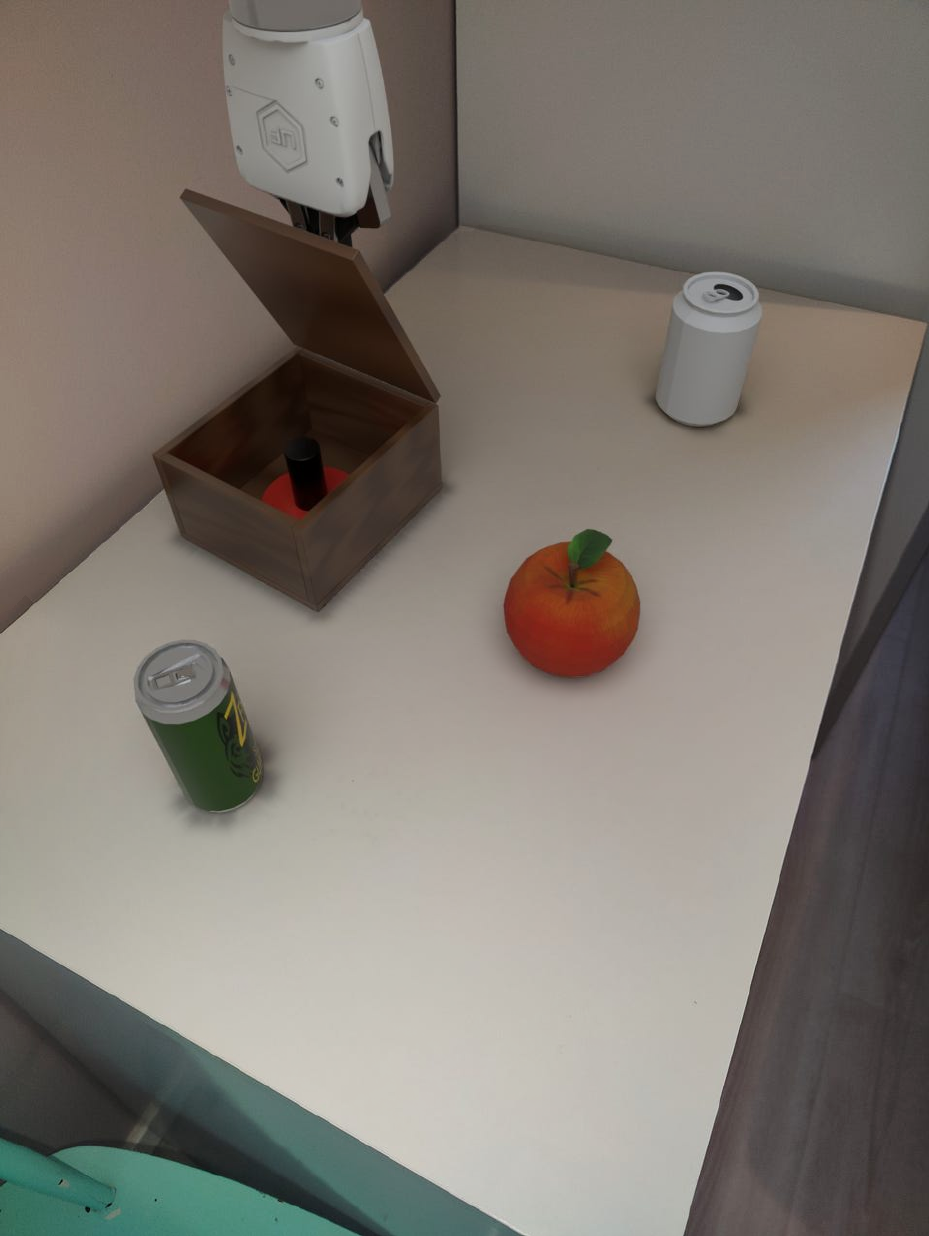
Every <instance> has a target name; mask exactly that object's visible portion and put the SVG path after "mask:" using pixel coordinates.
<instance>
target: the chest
mask: <svg viewBox="0 0 929 1236" xmlns="http://www.w3.org/2000/svg"><path fill="white" fill-rule="evenodd" d="M440 427H441V426H440V407H439V404H438V403H436V404H435V403H433V402H430V401H428V400H426V399H423V398H421V397H419V396H416V395H414V394H411V393H409V392H407V391H404V390H402V389H399V388H397V387H395V386H392V385H390V384H387V383H385V382H383V381H380V380H378V379H375V378H373V377H371V376H368V375H366V374H363V373H361V372H359V371H356V370H354V369H352V368H349V367H347V366H344V365H342V364H340V363H337V362H335V361H332V360H330V359H328V358H325V357H323V356H320V355H318V354H316V353H313V352H311V351H308V350H306V349H304V348H301V347H299V346H295V347H294V348H293V349H292V350H289V351H288V352H287V353H286V354H284V355H283V356H282V357H280V358H279V359H278V360H276V361H275V362H274V363H272V364H271V365H269V366H267V368H266V369H264V370H263V371H262V372H260V373H259V374H258V375H256V376H255V377H253V378H251V380H249V381H248V382H247V383H246V384H244V385H243V386H241V387H240V388H239V389H237V390H236V391H234V392H233V393H232V394H231V395H230V396H228V397H226V398H225V399H224V400H223V401H221V402H220V403H218V404H217V405H216V406H214V407H213V408H212V409H210V410H209V411H208V412H207V413H205V414H204V415H202V416H201V417H200V418H199V419H197V420H196V421H194V422H193V423H191V424H190V425H189V426H188V427H187V428H185V429H184V430H182V431H181V432H180V433H178V434H177V435H176V436H174V437H173V438H172V439H170V440H169V441H167V442H166V443H164V444H163V445H161V447H160V448H158V449H157V450H156V451H154V452H153V453H152V454H151V456H152V459H153V462H154V465H155V467H156V470H157V473H158V476H159V479H160V481H161V484H162V487H163V489H164V492H165V495H166V498H167V501H168V503H169V506H170V508H171V512H172V514H173V517H174V519H175V522H176V526H177V528H178V530H179V533H180V534H179V535H180V536H181V537H182V538H183V539H184V540H187V541H188V542H190V543H192V544H194V545H196V546H198V547H199V548H201V549H203V550H204V551H206V552H208V553H210V554H211V555H214V556H216V557H218V558H219V559H221V560H222V561H225V562H227V563H228V564H230V565H232V566H234V567H236V568H237V569H239V570H241V571H243V572H245V573H246V574H248V575H250V576H252V577H254V578H256V579H257V580H259V581H261V582H263V583H265V584H266V585H268V586H270V587H272V588H273V589H275V590H277V591H279V592H281V593H283V594H284V595H286V596H287V597H290V598H292V599H293V600H295V601H297V602H299V603H301V604H303V605H304V606H305V607H308V608H310V609H312V610H314V611H315V612H317V613H319V612H320V610H322V609H323V607H325V605H326V604H328V603H329V602H330V601H331V600H332V599H333V598H334V597H335V596H336V595H337V594H338V593H339V592H340V591H341V590H342V589H343V588H344V587H345V586H346V585H347V584H348V583H349V582H350V581H351V580H352V579H353V578H354V577H355V576H356V575H357V574H358V573H359V572H360V571H361V570H362V569H363V568H364V567H365V566H366V565H367V564H368V563H369V562H370V561H371V560H372V559H373V558H374V557H375V556H376V555H377V554H378V553H379V552H380V551H381V550H382V549H383V548H384V547H385V546H386V545H387V544H388V543H389V542H390V541H391V540H392V539H393V538H394V537H395V536H396V535H397V534H398V533H399V532H400V531H401V530H402V529H403V528H404V527H405V526H406V525H407V524H408V523H409V522H410V521H412V519H413V518H414V517H415V516H416V515H417V514H418V513H419V512H420V511H421V510H422V509H423V508H424V507H425V506H426V505H427V504H428V503H429V502H430V501H431V500H432V499H433V498H434V497H435V496H437V494H438V493H439V492H440V491H441V490H442V489H443V480H442V479H443V478H442V454H441V430H440V429H441V428H440ZM299 437H309V438H312V439H315V440H316V441H317V442H318V443H319V445H320V450H321V456H322V462H323V467H330V468H335V469H338V470H341V471H343V472H345V473H347V474H349V476H348V477H347V478H346V479H345V480H343V481H342V482H341V483H340V484H339V485H338V486H337V487H336V488H335V489H333V490H332V491H331V492H330V493H329V494H328V495H327V496H326V497H325V498H323V499H322V500H321V501H320V502H319V503H318V504H317V505H316V506H315V507H313V508H312V509H311V510H310V511H309V512H308V513H307V514H306V515H305V516H303V517H302V518H301V519H300V520H298V519H296V518H294V517H292V516H290V515H288V514H286V513H284V512H282V511H280V510H278V509H276V508H274V507H272V506H270V505H269V504H267V503H265V502H263V501H262V497H263V495H264V493H265V491H266V489H267V488H268V487H269V486H270V484H272V483H273V482H274V481H275V480H276V479H278V478H279V477H281V476H282V475H284V474H286V473H288V468H287V463H286V459H285V454H284V448H285V445H286V444H287V443H288V442H289V441H291V440H293V439H295V438H299Z"/></svg>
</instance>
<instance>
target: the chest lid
mask: <svg viewBox="0 0 929 1236" xmlns="http://www.w3.org/2000/svg"><path fill="white" fill-rule="evenodd" d="M179 199H180V201H181V202H182V203H183V204H184V206H185V207H186V208H187V209H188V211H189V212H190V213H191V215H192V216H193V217H194V219H195V220H196V221H197V222H198V224H199V225H200V226H201V227H202V229H203V230H204V231H205V232H206V234H207V235H208V237H210V239H211V240H212V241H213V243H214V244H215V245H216V247H217V248H218V249H219V250H220V251H221V253H222V254H223V256H224V257H225V258H226V259H227V261H228V262H229V263H230V265H231V266H232V267H233V268H234V269H235V271H236V273H238V275H239V276H240V278H241V279H242V280H243V281H244V283H245V284H246V285H247V286H248V288H249V290H251V292H252V293H253V294H254V295H255V296H256V298H257V299H258V300H259V302H260V303H261V304H262V305H263V307H264V308H265V309H266V311H267V312H268V314H270V316H271V317H272V318H273V319H274V321H275V322H276V324H277V325H278V326H279V327H280V329H281V330H282V331H283V333H284V334H285V335H286V336H287V338H288V339H289V340H290V341H291V343H292V344H293V345H295V347H297V346H298V347H301V348H303V349H306V350H308V351H310V352H313V353H315V354H318V355H320V356H322V357H325V358H327V359H330V360H332V361H334V362H337V363H339V364H342V365H344V366H346V367H349V368H351V369H353V370H356V371H358V372H361V373H363V374H365V375H368V376H370V377H373V378H375V379H377V380H380V381H382V382H385V383H387V384H389V385H392V386H394V387H397V388H399V389H401V390H404V391H406V392H409V393H411V394H413V395H416V396H418V397H420V398H423V399H425V400H428V401H430V402H432V403H435V404H438V402H439V400H440V398H441V393H440V391H439V390H438V388H437V386H436V384H435V382H434V380H433V379H432V376H430V373H429V372H428V370H427V368H426V366H425V365H424V363H423V361H422V359H421V357H420V356H419V354H418V352H417V351H416V349H415V347H414V345H413V343H412V342H411V340H410V338H409V337H408V335H407V333H406V331H405V328H404V327H403V326H402V324H401V322H400V321H399V319H398V317H397V315H396V313H395V312H394V310H393V308H392V306H391V304H390V302H389V301H388V299H387V297H386V296H385V294H384V292H383V290H382V288H381V286H380V284H379V283H378V281H377V279H376V278H375V276H374V274H373V273H372V270H371V269H370V267H369V265H368V263H367V262H366V260H365V258H364V256H363V254H362V253H361V251H360V250H359V249H358V248H354V247H353V248H352V247H349V246H346V245H344V244H341V243H338V242H335V241H332V240H329V239H327V238H324V237H321V236H318V235H315V234H313V233H310V232H307V231H304V230H301V229H299V228H296V227H293V225H290V224H287V223H285V222H281V221H278V220H276V219H273V218H270V217H268V216H265V215H262V214H260V213H257V212H253V211H251V210H248V209H245V208H242V207H239V206H237V205H233V204H230V203H228V202H225V201H223V200H219V199H218V198H214V197H211V196H208V195H205V194H203V193H199V192H197V191H194V190H192V189H188V188H184V190H183V191H182V193H181V194H180V195H179Z"/></svg>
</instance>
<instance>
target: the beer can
mask: <svg viewBox="0 0 929 1236" xmlns="http://www.w3.org/2000/svg"><path fill="white" fill-rule="evenodd" d="M133 689H134V701H135V703H136V705H137V707H138V709H139V711H140V713H141V715H142V716H143V718H144V720H145V723H146V724H147V726H148V728H149V731H150V732H151V734H152V736H153V738H154V740H155V741H156V744H157V745H158V747H159V749H160V751H161V753H162V755H163V757H164V759H165V761H166V763H167V765H168V767H169V769H170V771H171V772H172V774H173V776H174V778H175V780H176V782H177V784H178V786H179V788H180V790H181V791H182V793H183V795H184V797H185V799H186V800H187V802H189V803H190V804H191V805H193V806H194V807H195V808H198V809H200V810H203V811H206V812H209V813H226V812H230V811H235V810H236V809H238V808H240V807H242V806H244V805H245V804H247V803H248V802H249V801H250V799H252V798H253V797H254V796H255V794H256V792H257V791H258V789H259V787H260V784H261V783H262V779H263V775H264V770H265V769H264V764H263V758H262V756H261V753H260V749H259V747H258V744H257V742H256V738H255V736H254V733H253V731H252V727H251V724H250V722H249V720H248V717H247V714H246V711H245V709H244V706H243V703H242V700H241V697H240V695H239V692H238V689H237V687H236V683H235V681H234V679H233V675H232V672H231V670H230V668H229V666H228V664H227V662H226V660H225V659H224V658H223V657H222V656H221V655H220V654H219V652H218V651H217V649H215V648H214V647H212V646H211V645H209V644H208V643H206V642H204V641H200V640H196V639H179V640H173V641H169V642H166V643H164V644H162V645H160V646H158V647H156V648H154V649H153V650H152V651H151V652H149V653H148V654H147V655H145V656H144V658H143V659H142V660H141V661H140V663H139V665H137V667H136V670H135V672H134V676H133Z"/></svg>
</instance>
